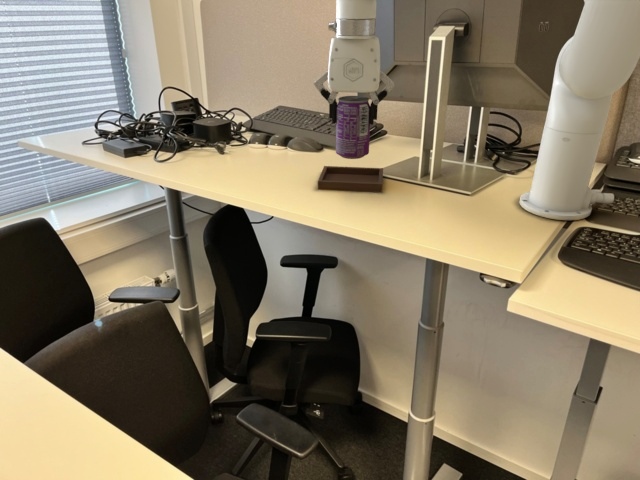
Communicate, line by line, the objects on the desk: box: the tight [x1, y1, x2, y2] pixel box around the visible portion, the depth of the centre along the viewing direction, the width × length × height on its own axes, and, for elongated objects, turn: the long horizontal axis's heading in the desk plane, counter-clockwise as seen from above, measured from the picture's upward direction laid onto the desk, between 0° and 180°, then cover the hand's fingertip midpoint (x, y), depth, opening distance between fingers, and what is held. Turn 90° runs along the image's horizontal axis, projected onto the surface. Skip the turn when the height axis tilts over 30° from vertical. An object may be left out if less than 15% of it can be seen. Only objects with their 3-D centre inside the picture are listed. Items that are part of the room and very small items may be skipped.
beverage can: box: [335, 95, 371, 160], centre depth 98 cm, size 7×7×12 cm
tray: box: [317, 165, 384, 193], centre depth 103 cm, size 14×10×2 cm
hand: (353, 122), depth 97 cm, fingers closed on beverage can, 7 cm apart
